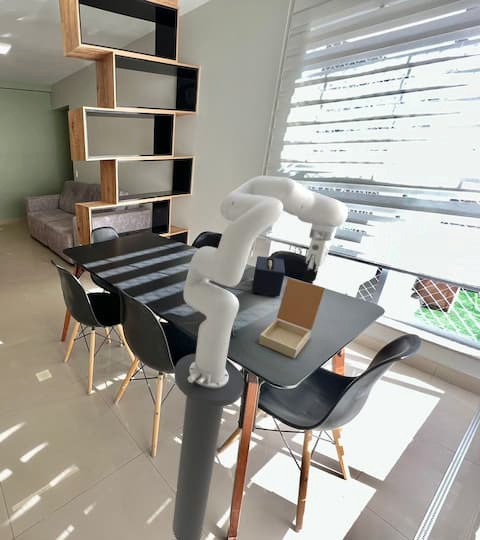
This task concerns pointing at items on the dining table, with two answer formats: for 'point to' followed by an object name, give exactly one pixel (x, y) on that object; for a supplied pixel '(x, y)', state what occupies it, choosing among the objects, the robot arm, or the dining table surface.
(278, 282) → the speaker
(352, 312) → the dining table surface
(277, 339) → the open wooden box
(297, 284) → the cover
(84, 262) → the dining table surface
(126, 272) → the dining table surface
